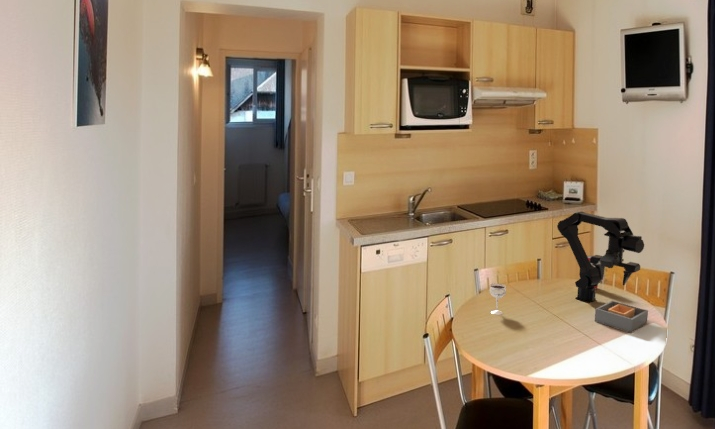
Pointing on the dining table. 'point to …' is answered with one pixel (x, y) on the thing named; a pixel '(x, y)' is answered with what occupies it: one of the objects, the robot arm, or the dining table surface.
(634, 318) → the grey open box
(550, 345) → the dining table surface
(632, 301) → the dining table surface
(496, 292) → the wineglass
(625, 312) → the orange crate
